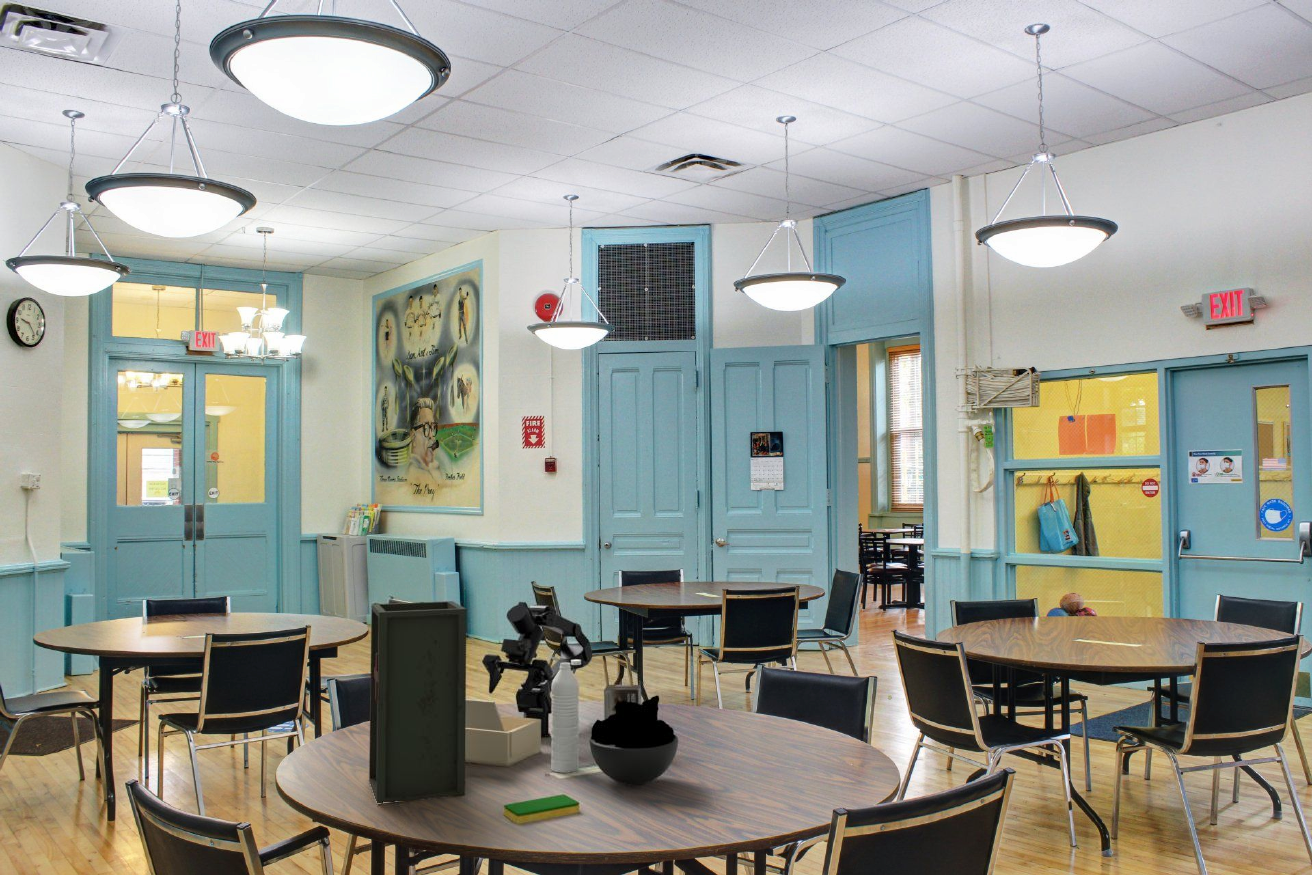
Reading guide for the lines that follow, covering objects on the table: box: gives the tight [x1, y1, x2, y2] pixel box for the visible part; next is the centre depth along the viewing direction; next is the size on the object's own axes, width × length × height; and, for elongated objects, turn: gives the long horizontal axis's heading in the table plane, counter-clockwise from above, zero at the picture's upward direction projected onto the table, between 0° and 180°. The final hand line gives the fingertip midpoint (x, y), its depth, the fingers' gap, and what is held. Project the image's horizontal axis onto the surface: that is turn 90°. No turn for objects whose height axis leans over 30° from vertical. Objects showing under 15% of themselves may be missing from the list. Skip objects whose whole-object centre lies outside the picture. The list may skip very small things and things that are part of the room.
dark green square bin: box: [368, 600, 467, 804], centre depth 226 cm, size 18×18×40 cm
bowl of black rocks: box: [589, 694, 679, 786], centre depth 229 cm, size 20×20×19 cm
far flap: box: [465, 698, 505, 731], centre depth 245 cm, size 9×19×1 cm
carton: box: [465, 715, 542, 768], centre depth 255 cm, size 16×21×8 cm
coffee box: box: [603, 684, 642, 720], centre depth 259 cm, size 9×6×16 cm
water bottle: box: [550, 660, 581, 774], centre depth 242 cm, size 9×6×25 cm
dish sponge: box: [503, 793, 580, 825], centre depth 207 cm, size 7×14×2 cm, turn 122°
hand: (505, 694), depth 262 cm, fingers open, 9 cm apart
